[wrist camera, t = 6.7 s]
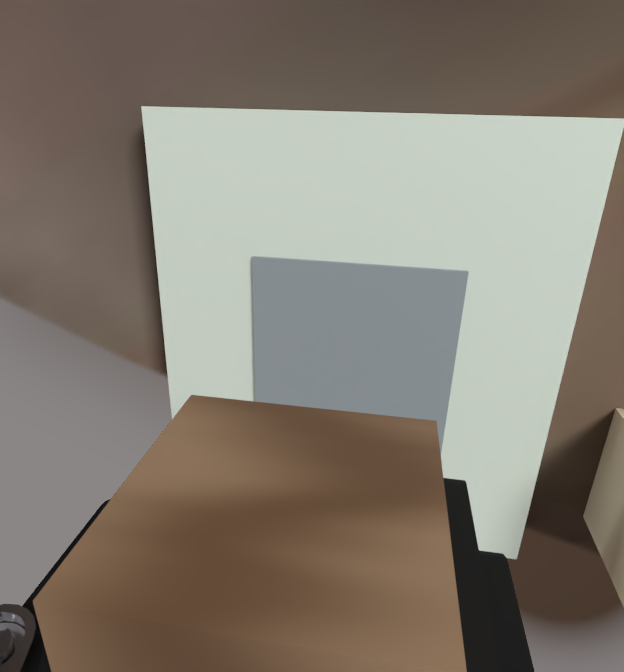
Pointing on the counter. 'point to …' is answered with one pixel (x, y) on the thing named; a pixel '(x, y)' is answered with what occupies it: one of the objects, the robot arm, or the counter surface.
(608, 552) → the maple cube
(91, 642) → the walnut cube
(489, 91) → the counter surface
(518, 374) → the build board
